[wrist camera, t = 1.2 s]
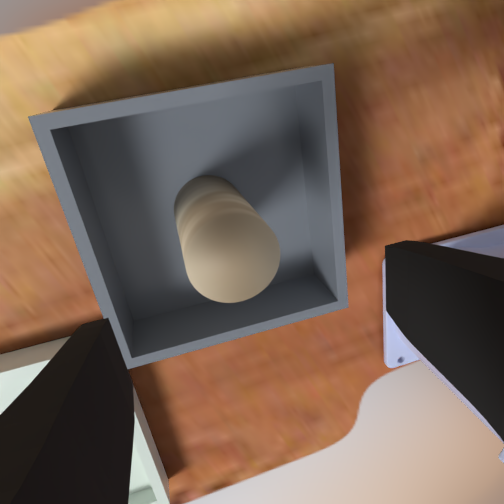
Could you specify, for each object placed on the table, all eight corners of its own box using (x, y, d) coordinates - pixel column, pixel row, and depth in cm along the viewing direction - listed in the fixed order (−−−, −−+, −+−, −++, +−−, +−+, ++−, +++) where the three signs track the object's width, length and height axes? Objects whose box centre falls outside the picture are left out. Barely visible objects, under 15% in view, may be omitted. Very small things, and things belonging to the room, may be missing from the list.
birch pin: (235, 168, 18) (273, 203, 13) (246, 232, 19) (285, 289, 14) (166, 183, 18) (174, 226, 12) (182, 248, 19) (196, 312, 13)
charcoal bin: (300, 67, 17) (333, 63, 14) (319, 275, 22) (348, 307, 19) (51, 110, 16) (27, 116, 13) (126, 326, 20) (123, 370, 17)
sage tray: (111, 325, 20) (108, 343, 19) (168, 479, 25) (169, 504, 24) (-154, 394, 18) (-180, 421, 17) (-35, 546, 23) (-47, 577, 22)
